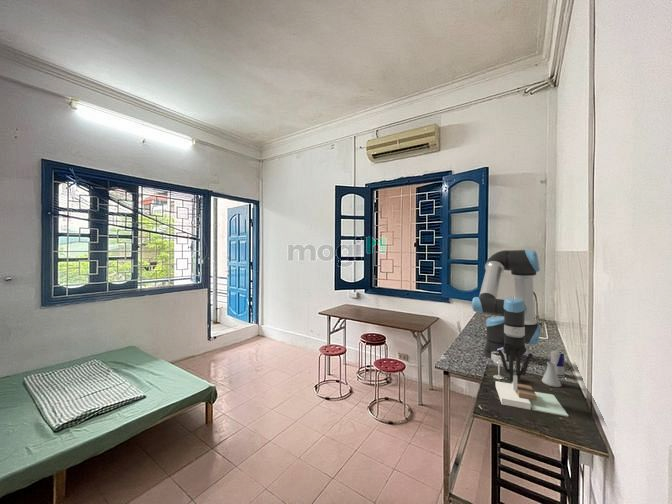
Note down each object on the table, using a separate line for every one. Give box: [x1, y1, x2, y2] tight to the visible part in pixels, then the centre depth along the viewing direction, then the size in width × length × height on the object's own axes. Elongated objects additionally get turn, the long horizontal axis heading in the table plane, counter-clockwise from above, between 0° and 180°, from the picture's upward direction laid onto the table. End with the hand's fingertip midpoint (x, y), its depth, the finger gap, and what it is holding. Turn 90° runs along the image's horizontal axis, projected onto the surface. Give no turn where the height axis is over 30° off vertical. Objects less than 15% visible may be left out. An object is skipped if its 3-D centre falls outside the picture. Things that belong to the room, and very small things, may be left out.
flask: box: [541, 361, 563, 388], centre depth 127 cm, size 7×7×10 cm
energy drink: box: [550, 349, 565, 378], centre depth 136 cm, size 5×5×12 cm
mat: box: [529, 391, 569, 418], centre depth 112 cm, size 16×12×1 cm
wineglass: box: [490, 351, 508, 380], centre depth 134 cm, size 7×7×12 cm
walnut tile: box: [516, 383, 537, 401], centre depth 114 cm, size 9×6×2 cm, turn 156°
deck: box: [495, 380, 532, 410], centre depth 116 cm, size 16×10×2 cm, turn 157°
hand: (514, 389), depth 116 cm, fingers closed
